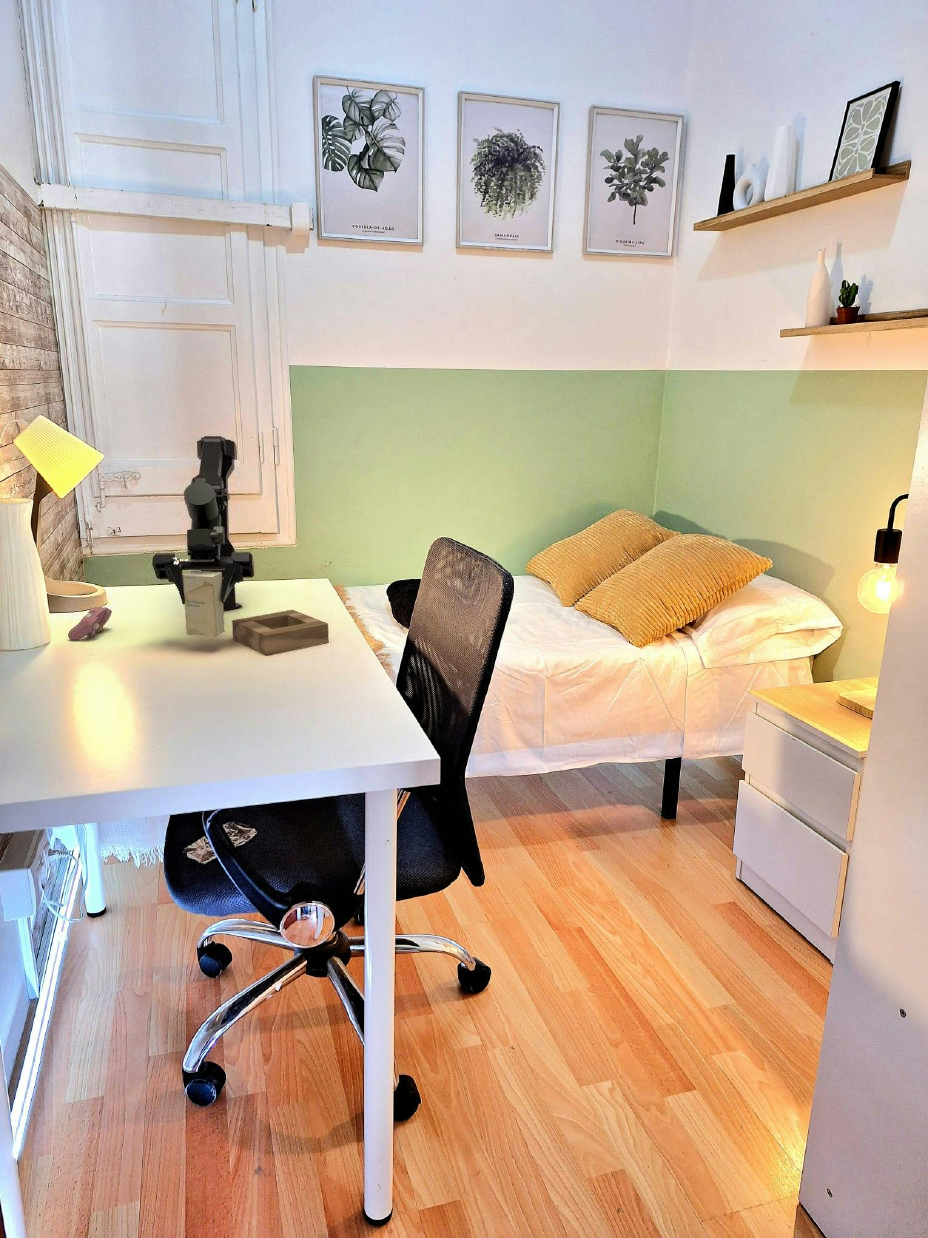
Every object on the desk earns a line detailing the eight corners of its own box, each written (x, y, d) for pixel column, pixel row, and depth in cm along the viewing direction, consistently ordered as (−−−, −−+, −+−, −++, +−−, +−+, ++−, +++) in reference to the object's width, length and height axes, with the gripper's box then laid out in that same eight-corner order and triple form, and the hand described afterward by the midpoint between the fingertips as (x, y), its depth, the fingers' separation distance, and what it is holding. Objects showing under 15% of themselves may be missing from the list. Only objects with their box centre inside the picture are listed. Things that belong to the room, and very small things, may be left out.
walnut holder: (233, 639, 172) (231, 620, 171) (293, 627, 181) (292, 609, 180) (266, 655, 162) (265, 635, 160) (328, 642, 170) (328, 623, 169)
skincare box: (186, 636, 163) (180, 574, 159) (196, 629, 167) (191, 569, 164) (216, 637, 162) (212, 576, 158) (226, 631, 166) (222, 571, 163)
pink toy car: (86, 649, 169) (98, 619, 167) (64, 638, 168) (77, 609, 167) (106, 635, 178) (118, 607, 177) (86, 625, 178) (98, 597, 176)
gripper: (149, 511, 160) (144, 581, 153) (250, 511, 163) (249, 579, 156) (159, 544, 170) (154, 612, 162) (254, 543, 173) (254, 609, 166)
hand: (203, 602), depth 161 cm, fingers closed on skincare box, 7 cm apart
